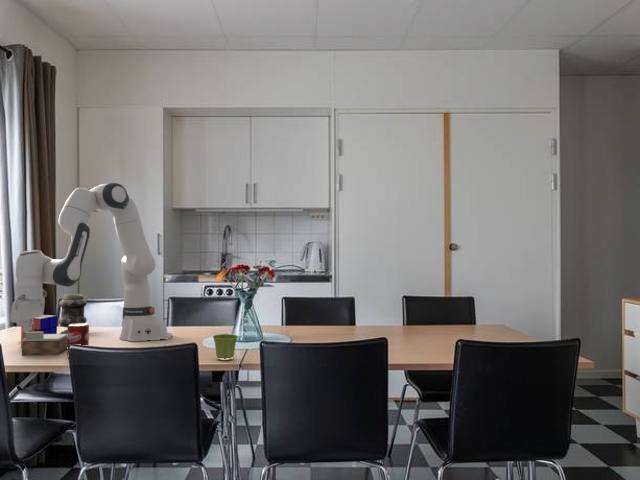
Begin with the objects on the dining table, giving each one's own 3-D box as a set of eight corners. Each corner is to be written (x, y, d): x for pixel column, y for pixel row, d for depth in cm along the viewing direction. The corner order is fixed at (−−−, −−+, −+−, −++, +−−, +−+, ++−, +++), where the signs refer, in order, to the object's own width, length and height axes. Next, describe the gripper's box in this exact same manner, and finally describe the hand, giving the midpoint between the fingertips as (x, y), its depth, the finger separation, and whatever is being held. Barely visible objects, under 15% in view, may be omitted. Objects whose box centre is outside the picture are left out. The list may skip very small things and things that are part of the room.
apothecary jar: (92, 331, 241) (92, 293, 241) (74, 335, 230) (74, 296, 230) (70, 329, 244) (71, 293, 244) (51, 334, 233) (52, 295, 233)
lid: (67, 335, 201) (67, 327, 201) (58, 340, 192) (58, 332, 192) (33, 336, 199) (33, 328, 199) (22, 341, 190) (22, 332, 190)
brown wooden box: (67, 349, 201) (67, 336, 201) (58, 354, 191) (58, 341, 192) (32, 349, 199) (33, 337, 199) (21, 355, 190) (22, 342, 190)
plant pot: (239, 356, 193) (239, 334, 193) (236, 362, 183) (236, 338, 183) (214, 356, 192) (215, 333, 192) (210, 362, 183) (210, 338, 183)
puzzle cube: (40, 342, 215) (41, 318, 215) (20, 340, 217) (20, 317, 217) (57, 337, 225) (57, 315, 225) (37, 336, 227) (38, 314, 227)
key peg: (32, 346, 205) (32, 322, 205) (33, 348, 202) (34, 323, 202) (20, 347, 203) (21, 323, 203) (22, 349, 200) (22, 324, 200)
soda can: (82, 353, 194) (83, 322, 194) (92, 356, 190) (92, 324, 190) (63, 356, 189) (64, 324, 189) (72, 359, 184) (73, 326, 184)
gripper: (25, 296, 176) (24, 336, 176) (48, 291, 196) (47, 327, 196) (6, 296, 175) (4, 336, 175) (31, 291, 195) (29, 327, 195)
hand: (27, 331), depth 186 cm, fingers closed
